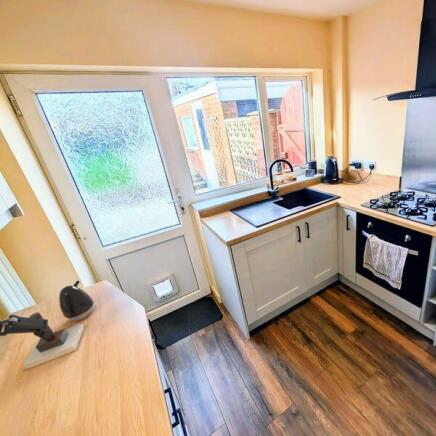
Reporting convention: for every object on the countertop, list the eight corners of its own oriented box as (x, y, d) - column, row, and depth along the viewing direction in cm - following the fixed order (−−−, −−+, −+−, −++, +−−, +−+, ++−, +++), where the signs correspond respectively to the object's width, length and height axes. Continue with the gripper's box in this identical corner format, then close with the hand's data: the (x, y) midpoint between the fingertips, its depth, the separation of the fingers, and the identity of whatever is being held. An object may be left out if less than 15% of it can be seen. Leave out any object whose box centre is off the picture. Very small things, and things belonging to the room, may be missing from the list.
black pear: (103, 305, 109) (88, 278, 103) (83, 324, 100) (65, 296, 93) (83, 305, 111) (67, 278, 104) (62, 324, 101) (42, 296, 95)
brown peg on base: (39, 352, 87) (17, 324, 81) (45, 342, 91) (24, 314, 85) (63, 344, 89) (43, 316, 83) (68, 334, 93) (49, 306, 88)
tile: (26, 369, 84) (22, 365, 83) (40, 342, 94) (37, 339, 93) (75, 350, 89) (73, 346, 88) (84, 326, 99) (82, 323, 98)
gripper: (-127, 364, 52) (-43, 379, 68) (28, 317, 62) (70, 339, 78) (-112, 330, 56) (-36, 351, 72) (31, 291, 66) (70, 317, 82)
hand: (19, 345), depth 75 cm, fingers open, 13 cm apart
